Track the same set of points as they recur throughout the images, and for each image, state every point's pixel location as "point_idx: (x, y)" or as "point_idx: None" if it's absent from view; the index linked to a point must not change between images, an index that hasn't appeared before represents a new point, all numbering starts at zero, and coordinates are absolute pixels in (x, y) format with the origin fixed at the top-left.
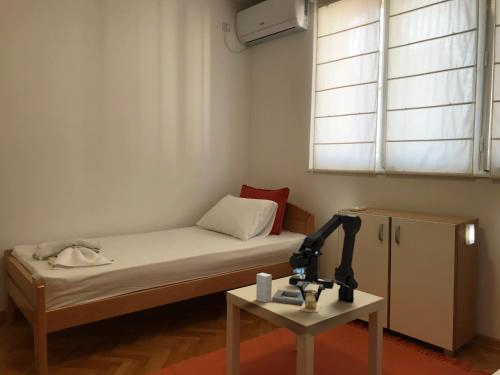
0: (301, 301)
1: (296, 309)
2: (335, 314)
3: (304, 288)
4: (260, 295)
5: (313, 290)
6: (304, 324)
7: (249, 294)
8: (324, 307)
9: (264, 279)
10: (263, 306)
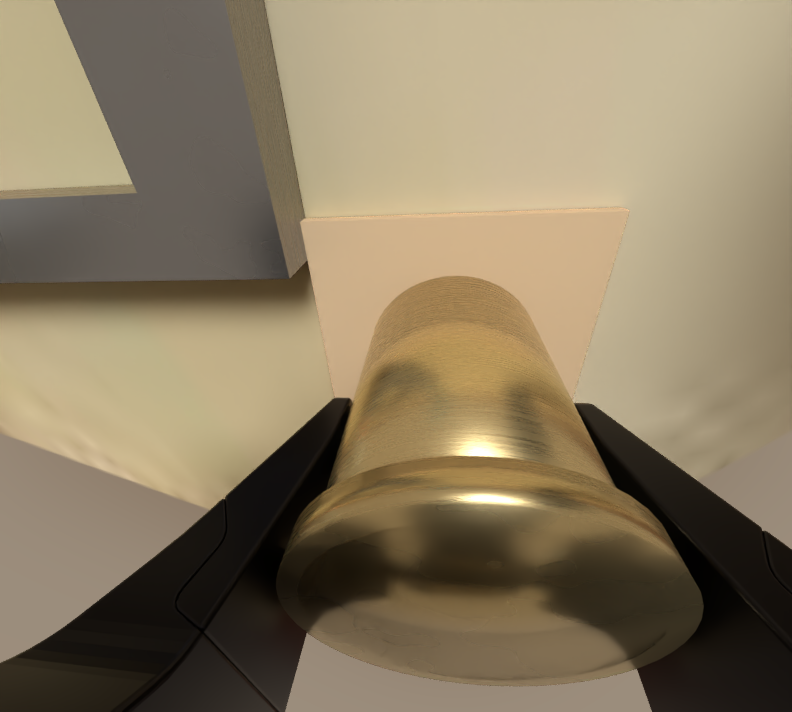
0: (271, 275)
1: (303, 414)
2: (775, 426)
3: (220, 667)
4: None
5: (554, 547)
6: None
7: None
8: (682, 228)
9: None
10: (8, 430)
